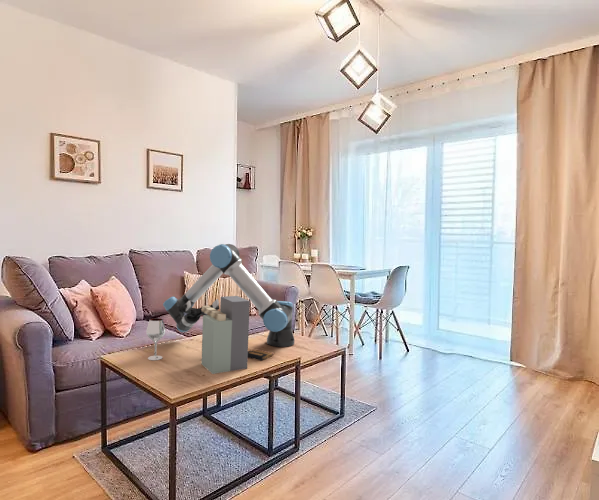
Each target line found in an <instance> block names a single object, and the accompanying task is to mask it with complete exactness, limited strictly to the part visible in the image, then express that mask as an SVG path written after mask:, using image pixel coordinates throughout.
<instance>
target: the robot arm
mask: <svg viewBox="0 0 599 500" xmlns="http://www.w3.org/2000/svg"><path fill="white" fill-rule="evenodd" d="M209 260H210V263H211V265H210V266H209V267H208V269H206V270H205V272H204V273H203V274H202V275H201V276H200V277H199V278H198V279H197V280H196V281H195V283H193V284H192V286H191V287H190V288H189V289H188V290H187V291H186V292H185V293H184V294H183V295H182V296H181V297H180V298H177V297H175V296H170V297H169V298H167V299H166V300H164V302H163V304H162V306H163V307H164V309H165V311H166V312H167V313H168V314H169V316H170V317H171V318H172V319H173V321H174V322H175V323H176V326H175V327H176V330H177V331H179V332H181V333H187V332H188V331H190V330H191V329H192V328H193V326H195V324H197V323H198V321H199V320H200V319H201V316H203V315H207V314H206V313H204V312H202V306H201V307H198V308H195V307H194V305H195V304H196V302H197V301H199V299H200V298H201V297H202V296H203V295H204V294H205V293H206V292H207V290H209V289H210V288H211V286H212V285H213V284H214V283H216V281H217V280H218V279H219V278H220V277H221V276H222V275H223V274H224V275H227V276H229V277H230V279H232V281H233V282H234V283H235V284H236V285H237V286H238V288H239V289H240V290H241V291H242V292H243V293H244V294H245V296H246V297H247V298H248V299H249V301H250V303H252V304H253V306H254V307H256V309H257V310H258V316H259V317H260V318H261V319H262V322H263V325H264V327H265V328H266V330H268V331H269V332H268V334H267V338H266V345H269V346H272V347H279V348H285V347H287V348H288V347H291V346H294V345H295V337H294V333H293V330H292V329H293V310H294V309H293V308H294V307H293V306H294V303H293V302H291V301H285V300H283V301H282V300H277V299H273V298H272V297H271V296H269V294H268V293H267V292H266V290H264V289H263V287H262V286H261V285H260V284H259V283H258V282H257V280H256V279H255V278H254V276H253V275H252V274H251V273H250V272H249V271H248V270H247V268H246V267H245V266H244V265H243V264H242V261H243V260H242V258H241V257H240V251H239V249H238V247H237V246H235V245H234V244H230V243H227V244H224V243H220V244H217V245H216V246H214V247H213V248H212V249H211V250H210V253H209ZM209 306H210V307H212V308H214V309H216V310H218V311H219V310H220V300H219V298H216V299H215V300H214V301H213V302H212V304H210V305H209Z"/></svg>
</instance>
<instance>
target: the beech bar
mask: <svg viewBox="0 0 599 500" xmlns="http://www.w3.org/2000/svg"><path fill="white" fill-rule="evenodd" d="M201 307H202V309H201V310H202V312H204V313H206V314H207V315H209V316H211V317H213V318H215V319H216V320H218V321H225V320H226V314H224V313H222V312H220V310H219V309H218V310H216V309H214V308H212V307H210V305H202V306H201Z"/></svg>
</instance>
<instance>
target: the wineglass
mask: <svg viewBox="0 0 599 500" xmlns="http://www.w3.org/2000/svg"><path fill="white" fill-rule="evenodd" d="M146 335H147V337H148V339H150V340H152V342H153V343H154V352H153V353H154V355H150V356H149V357H147V360H149V361H159V360H162V359H163V356H162V355H157V345H158V342H159V340H161V339H162V338H163V337H164V336H165V335H166V327H165V323H164V319H163V318H160V317H159V318H157V317H155V318H154V317H153V318H150V319H149V321H148V325H147V327H146Z"/></svg>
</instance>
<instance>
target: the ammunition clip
mask: <svg viewBox="0 0 599 500" xmlns="http://www.w3.org/2000/svg"><path fill="white" fill-rule="evenodd" d="M274 354H275V352H272V351H268V350H263V349H258V348H257V349H253V350H248V358H249V359H253V360H257V361H264V360H267V359H268V358H270V357H272V356H273V355H274Z"/></svg>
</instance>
